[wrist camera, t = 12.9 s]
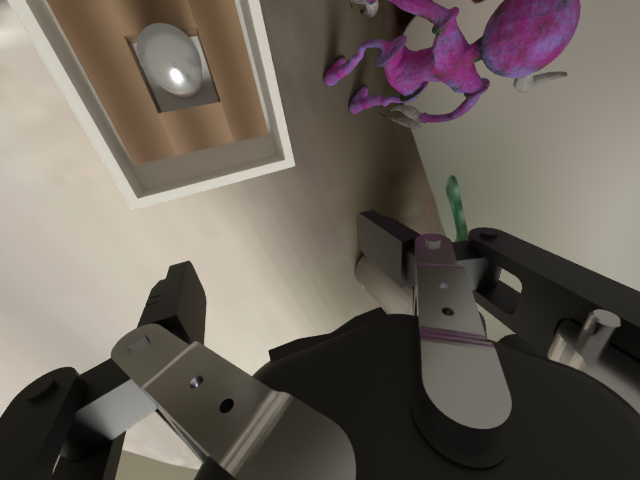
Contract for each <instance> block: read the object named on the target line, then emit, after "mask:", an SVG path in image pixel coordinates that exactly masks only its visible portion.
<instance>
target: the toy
mask: <svg viewBox="0 0 640 480" xmlns="http://www.w3.org/2000/svg"><path fill="white" fill-rule="evenodd" d="M349 1H350V4H351V7H352V0H349ZM353 1H354V2H356V3H358V4H363V5H366V7H367V10H364V9H362V10H360V12H361V14H364V15H366V16H368V17H369V18H372V17H373V16H374V15H375V14H376V12H377V10H378V6H379V3H378V0H353ZM388 1H390V2H392V3H394V4H395V5H397V6H398V7H399V8H400V9H402V10H404V11H406V12H409V13H412V14H414V15H417V16H420V17H423V18H425V19H427V20H429V21H430V22H431V23H433V24H434V26H433V29H432V32H433V33H434V34H436V37H435V39H434V42H433V46H432V47H431V48H426V49H423V50H419V51H411V50H408V48H407V47H406V46H405V45H404V44H405V42H406V36H405V35H401V36H399V37H397V38H395V39H394V40H393V41H392V42H389V41H386V40H383V39H372V40H368V41H365V42H363V43H362V44H361V45H360V47H359V48H358V54H357V55H353V56H352V57H351V59H350V60H348V61H347V62H346V59H345V58H340V59H339V60H337V61H336V62H335V63H334V64H333V66H332V67H331V68H330V69H329V70H328V71H327V72H326V73H325V76H324V82H325V84H326V85H328V86H333V85H335V84H336V83H337V82H338V81H339V80H340V79H341V78H343V77H344V76H346V75H347V74H349V73H350V72H351V71H352V70H353V69H354V68H355V66H356V65H357V64H358V63H359V61H360V60H361V59H362V58H363V55H364V51H365V50H366V48H371V47H376V48H379V49H380V50H381V51H382V52H381V53H380V55H379V56H378V58H377V61H376V66H377V67H382V66H383V68H384V71H385V74H386V77H387V80H388V82H389V84H390V85H391V86H392V87H393V88H394V89H396V90H397V91H399V92H400V93H401V95H400V97H394V96H390V97H382V96H380V95H371V96H368V97H367V94H368V88H367V87H363V88H362V89H361V90H359V91H358V92H357V93H356V94H355V96H354V97H353V99H352V100H351V102H350V104H349V109H350V112H351V113H352V114H357V113H358V112H360V111H362V110H363V109H367V108H370V107H373V106H377V105H383V106H387V105H388V104H389V103H392V102H394V103H407V102H410V101H413V100H415V99H416V98H417V97H418V95H419V94H420V93H421V92H422V91H423V90H424V89H425V88H426V86H427V84H428V82H429V81H441V82H443V83H445V84H446V85H448V86H450V87H451V89H452V90H453V91H454V92H458V93H464V95H465V97H466V100H465V101H464V102H463V103H462V104H461V105H460V106H459V107H458V108H457V109H456V110H454V111H453V112H451V113H448V114H443V115H429V114H427V113H422V114H421V113H420V112H419V111H418V110H417V109H416V108H414V107H412V106H404V105H398V106H395V107H393V108H391V109H390V110H389V111H388V112H390V111H393V110H398V111H401V112H402V113H403V114H404V115H406V116H407V117H403V118H393V117H389V116H385V115H383V114H381V115H383V116H385V117H387V118H389V119H391V120H393V121H394V122H396V123H398V124H400V125H403V126H405V127H408V128H413V129H416V128H419V127H421V126H422V125H423V124H424V123H427V122H445V121H450V120H453V119H456V118H458V117H460V116H462V115H463V114H465V113H466V112H468V111H469V109H471V108H472V106H474V104H475V103H476V102H477V101H478V99H479V97H480V95H481V94H483V93H484V92H485V91H486V90H487V89H488V87H489V84H490V81H489V80H488V79H485V78H482V79H481V77H480V76H479V74H478V73H477V71H476V68H475V64H474V63H475V62H477V61H479V60H483V62H484V64H485V65H486V67H487V68H488V69H489V70H490V71H492V72H493V73H495V74H497V75H500V76H503V77H508V78H516V79H515V81H514V88H515V89H516V90H517V91H520V92H528V91H530V90H531V89H533V88H535V87H537V86H539V85H541V84H543V83H545V82H547V81H549V80H553V79H556V78H560V77H565V76H567V73H566V72H547V73H544V74H539V75H536V76H534V74H535V72H536V71H539V70H540V69H542V68H543V67H545V66H546V65H548V64H549V63H550V62H552V61H553V60H554V59H555V58H556V57H558V56H559V54H560V53H561V52H562V51H563V50H564V49H565V47H566V46H567V45H568V43H569V42H570V40H571V39H572V37H573V35H574V33H575V30H576V28H577V25H578V21H579V17H580V8H581V7H580V1H579V0H504V1H503V2H502V3H501V4H500V5H499V6H498V8H497V9H496V10H495V12H494V13H493V14H492V16H491V17H490V19H489V21H488V23H487V26H486V28H485V31H484V34H483V36H482V37H481V38H479V39H478V40H477V41H475V42H474V43H473V44H471V45H470V44H468V42H467V41H466V39H465V37H464V36H463V34H462V33H461V31H460V30H459V28H458V26H457V23H456V16H457V15H458V13H459V8H457V7H453V8H452V9H446V8H444V7H442V6H440V5H438V4H436V3H434V2H432V1H430V0H388ZM379 114H380V113H379Z"/></svg>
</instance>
